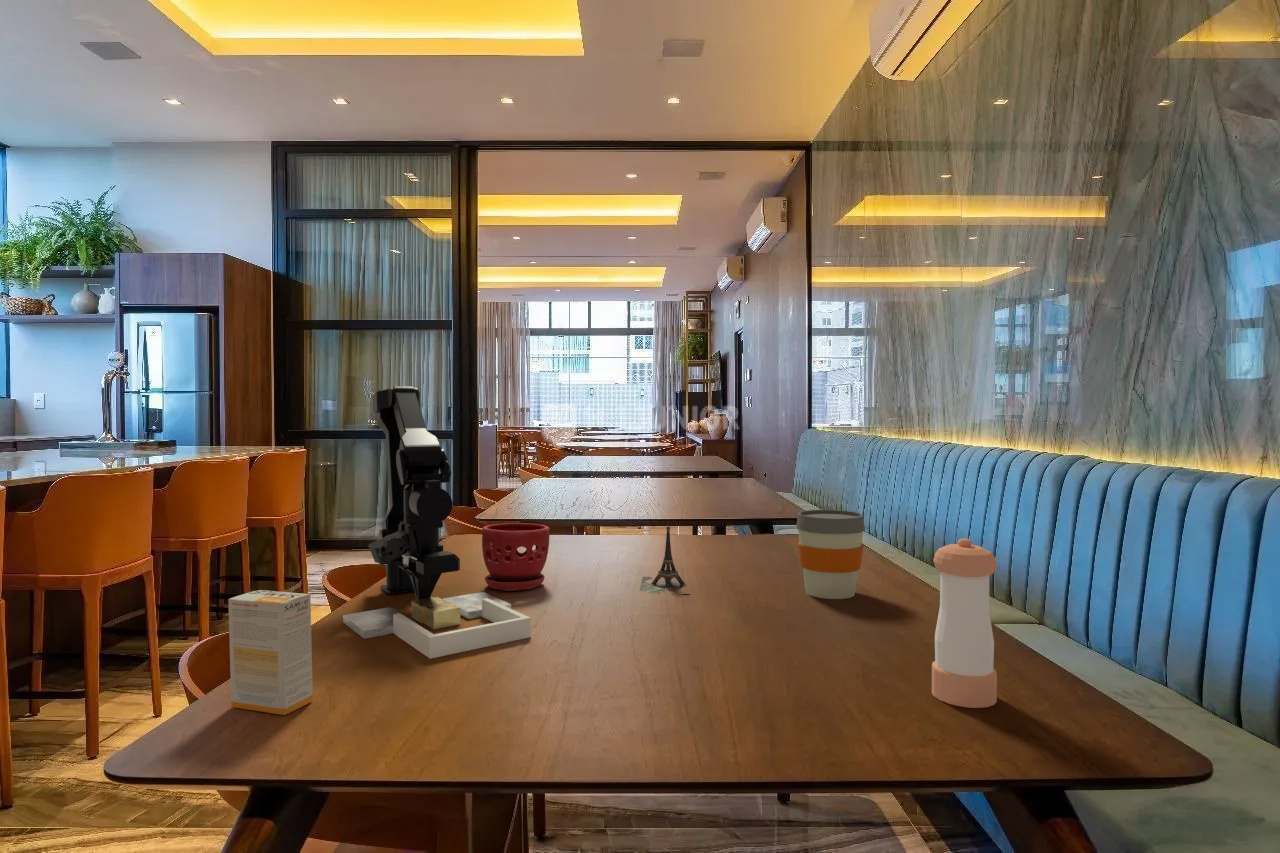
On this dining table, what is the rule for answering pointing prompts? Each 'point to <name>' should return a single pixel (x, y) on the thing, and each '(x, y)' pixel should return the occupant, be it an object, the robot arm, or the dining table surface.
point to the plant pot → (515, 555)
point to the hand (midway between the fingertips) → (422, 606)
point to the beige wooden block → (441, 615)
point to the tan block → (422, 606)
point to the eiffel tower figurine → (664, 574)
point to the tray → (466, 632)
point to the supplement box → (270, 651)
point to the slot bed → (382, 619)
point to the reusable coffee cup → (830, 551)
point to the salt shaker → (964, 627)
